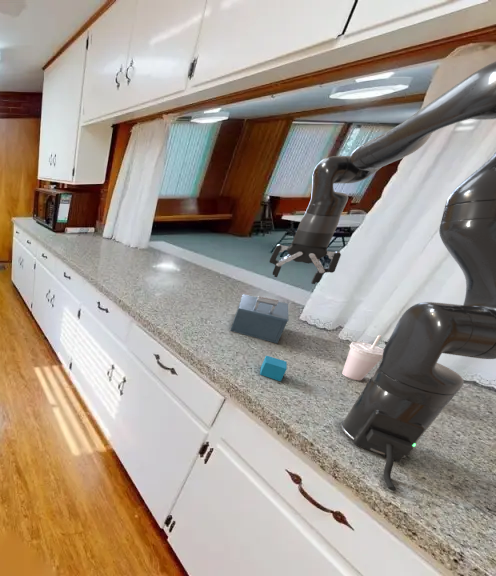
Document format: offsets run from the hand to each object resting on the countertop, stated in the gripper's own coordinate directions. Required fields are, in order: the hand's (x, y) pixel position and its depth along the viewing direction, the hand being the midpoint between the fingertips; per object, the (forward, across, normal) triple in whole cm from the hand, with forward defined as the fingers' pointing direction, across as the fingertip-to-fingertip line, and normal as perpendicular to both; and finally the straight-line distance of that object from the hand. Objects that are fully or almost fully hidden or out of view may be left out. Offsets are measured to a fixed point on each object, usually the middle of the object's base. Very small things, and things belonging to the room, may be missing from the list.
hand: (293, 279), depth 93 cm
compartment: (+22, -4, +4) cm, 23 cm away
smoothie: (+22, +18, -10) cm, 30 cm away
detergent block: (+22, +1, -24) cm, 33 cm away
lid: (+13, -4, +4) cm, 14 cm away
